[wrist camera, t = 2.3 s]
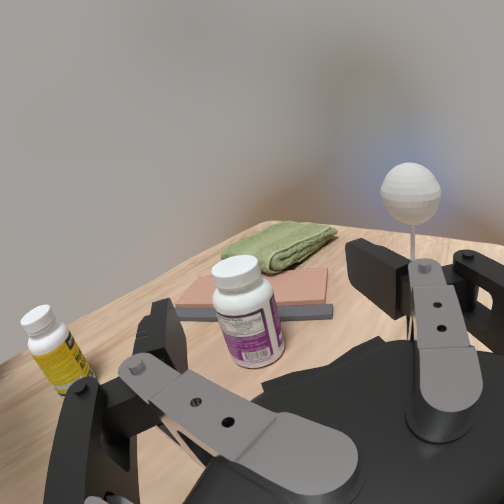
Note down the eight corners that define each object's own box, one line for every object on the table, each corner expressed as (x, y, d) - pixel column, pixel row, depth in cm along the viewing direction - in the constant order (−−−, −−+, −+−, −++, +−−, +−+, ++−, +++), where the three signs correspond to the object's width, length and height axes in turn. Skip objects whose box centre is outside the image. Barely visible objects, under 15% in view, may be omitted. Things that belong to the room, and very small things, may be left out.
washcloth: (341, 236, 49) (339, 218, 48) (274, 280, 39) (270, 258, 38) (286, 231, 59) (283, 215, 58) (217, 265, 49) (213, 247, 48)
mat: (160, 319, 37) (158, 316, 37) (194, 279, 46) (193, 276, 46) (332, 318, 30) (331, 314, 29) (334, 270, 39) (334, 266, 39)
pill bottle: (252, 330, 31) (230, 249, 28) (294, 340, 28) (278, 252, 24) (220, 361, 27) (190, 275, 24) (264, 377, 24) (239, 284, 21)
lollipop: (376, 310, 29) (368, 168, 23) (394, 284, 32) (387, 159, 27) (429, 322, 24) (435, 168, 19) (440, 292, 28) (442, 159, 23)
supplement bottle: (102, 387, 26) (56, 311, 22) (64, 408, 22) (13, 335, 19) (91, 364, 29) (53, 295, 26) (57, 383, 26) (15, 316, 23)
